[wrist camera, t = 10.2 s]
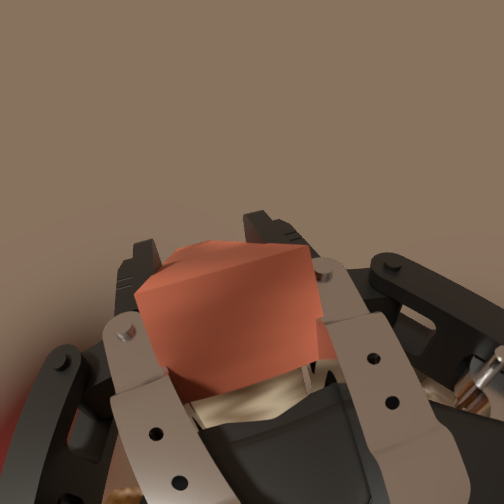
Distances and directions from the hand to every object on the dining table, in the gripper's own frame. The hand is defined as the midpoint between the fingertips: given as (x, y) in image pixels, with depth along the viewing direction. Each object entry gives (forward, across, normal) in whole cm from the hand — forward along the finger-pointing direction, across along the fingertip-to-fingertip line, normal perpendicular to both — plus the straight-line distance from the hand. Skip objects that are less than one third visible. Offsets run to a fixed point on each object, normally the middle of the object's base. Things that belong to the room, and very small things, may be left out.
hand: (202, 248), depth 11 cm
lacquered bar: (+5, 0, +6) cm, 8 cm away
